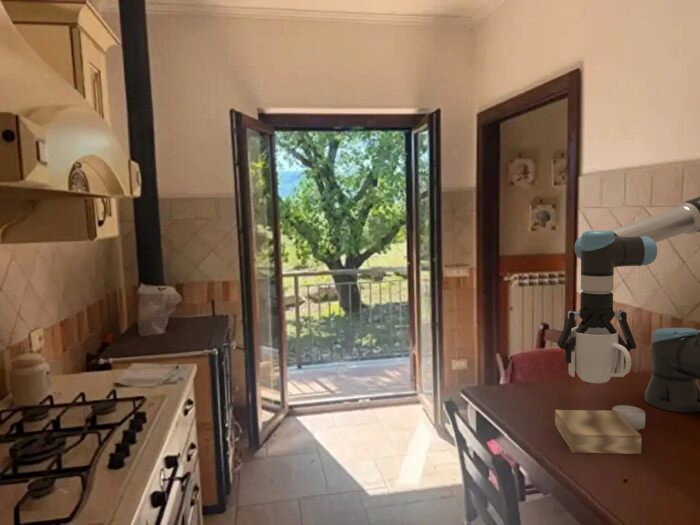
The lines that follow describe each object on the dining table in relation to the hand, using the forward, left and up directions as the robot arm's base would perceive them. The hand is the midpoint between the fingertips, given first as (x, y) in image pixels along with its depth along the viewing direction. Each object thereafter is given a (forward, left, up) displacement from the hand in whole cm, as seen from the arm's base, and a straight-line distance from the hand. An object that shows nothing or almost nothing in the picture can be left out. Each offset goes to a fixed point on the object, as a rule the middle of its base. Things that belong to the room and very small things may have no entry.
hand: (595, 375), depth 133 cm
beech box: (0, 0, -17) cm, 17 cm away
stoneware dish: (-12, -10, -17) cm, 23 cm away
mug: (-1, 0, -2) cm, 2 cm away
